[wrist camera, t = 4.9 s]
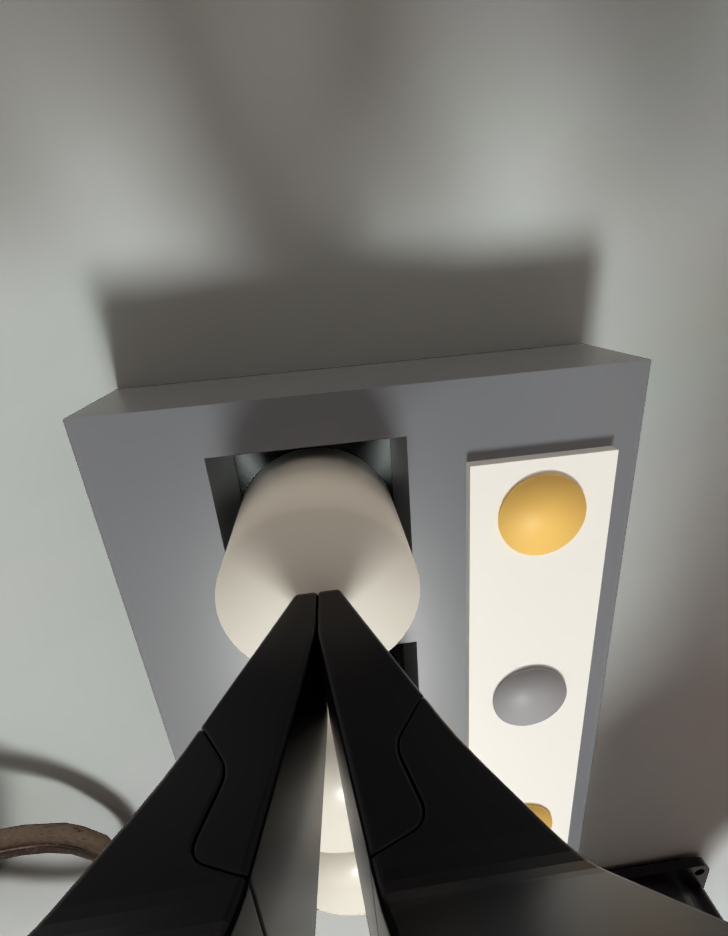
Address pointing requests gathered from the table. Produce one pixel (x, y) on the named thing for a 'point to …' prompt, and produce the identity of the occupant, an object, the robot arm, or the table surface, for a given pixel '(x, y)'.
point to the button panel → (414, 489)
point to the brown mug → (52, 840)
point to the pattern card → (534, 616)
